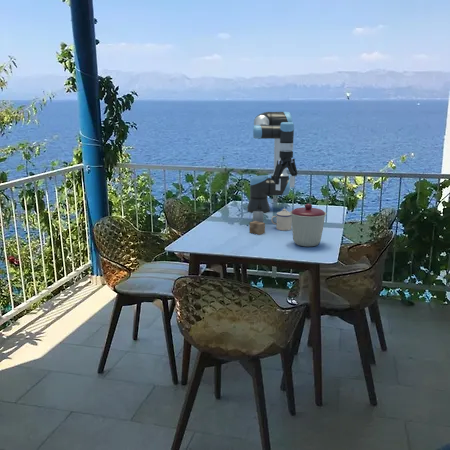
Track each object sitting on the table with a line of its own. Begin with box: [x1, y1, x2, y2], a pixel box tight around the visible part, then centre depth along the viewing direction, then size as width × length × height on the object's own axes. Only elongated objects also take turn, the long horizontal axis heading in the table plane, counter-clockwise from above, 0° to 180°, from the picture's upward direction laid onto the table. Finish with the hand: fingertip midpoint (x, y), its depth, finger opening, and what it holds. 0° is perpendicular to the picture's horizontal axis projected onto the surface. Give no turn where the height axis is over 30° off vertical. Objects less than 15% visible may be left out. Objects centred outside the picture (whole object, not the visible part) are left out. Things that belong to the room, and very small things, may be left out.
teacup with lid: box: [271, 208, 292, 232], centre depth 269 cm, size 12×9×12 cm
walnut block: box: [248, 220, 266, 236], centre depth 261 cm, size 7×5×6 cm
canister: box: [289, 203, 327, 247], centre depth 238 cm, size 18×18×21 cm
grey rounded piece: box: [252, 211, 264, 223], centre depth 278 cm, size 6×6×8 cm
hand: (285, 188), depth 266 cm, fingers open, 13 cm apart
